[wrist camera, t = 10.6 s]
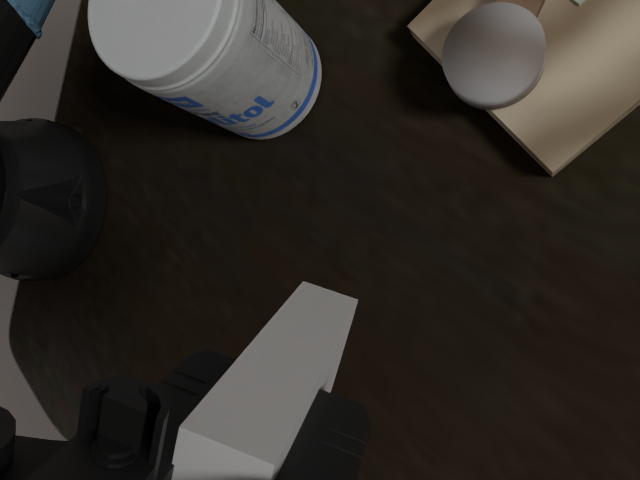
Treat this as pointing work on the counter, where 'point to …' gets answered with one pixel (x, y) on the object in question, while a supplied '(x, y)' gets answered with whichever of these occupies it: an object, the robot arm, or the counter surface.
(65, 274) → the robot arm
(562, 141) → the stand
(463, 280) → the counter surface
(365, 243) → the counter surface
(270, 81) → the supplement tub
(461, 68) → the lever
